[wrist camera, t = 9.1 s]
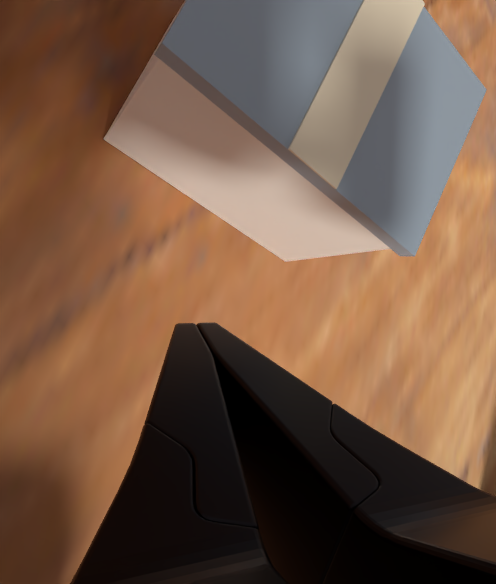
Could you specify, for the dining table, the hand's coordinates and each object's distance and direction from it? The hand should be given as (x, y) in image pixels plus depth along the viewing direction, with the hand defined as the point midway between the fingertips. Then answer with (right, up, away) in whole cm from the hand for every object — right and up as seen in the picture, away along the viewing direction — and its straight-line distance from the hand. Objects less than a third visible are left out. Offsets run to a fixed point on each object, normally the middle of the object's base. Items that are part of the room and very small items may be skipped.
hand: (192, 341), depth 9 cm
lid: (+5, +9, +7) cm, 13 cm away
